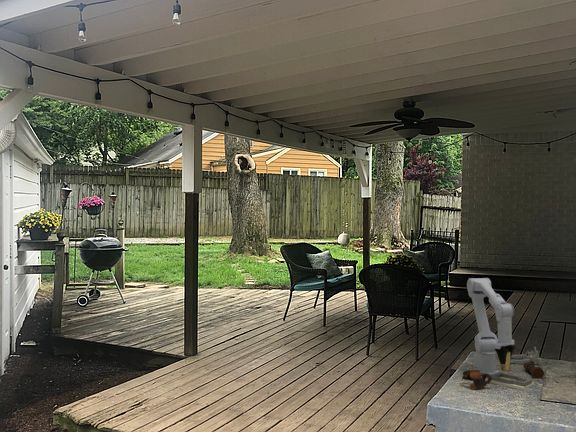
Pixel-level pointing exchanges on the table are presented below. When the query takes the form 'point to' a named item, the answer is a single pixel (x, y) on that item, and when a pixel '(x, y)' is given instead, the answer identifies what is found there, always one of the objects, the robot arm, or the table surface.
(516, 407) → the table surface
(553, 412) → the table surface
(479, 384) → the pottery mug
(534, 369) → the bolt
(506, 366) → the brass peg
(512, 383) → the keyhole plate
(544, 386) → the table surface
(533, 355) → the bike brake
